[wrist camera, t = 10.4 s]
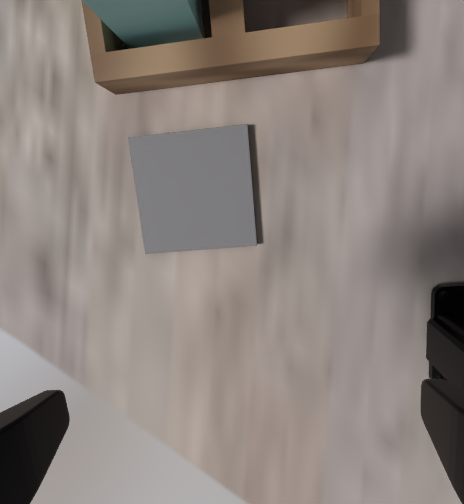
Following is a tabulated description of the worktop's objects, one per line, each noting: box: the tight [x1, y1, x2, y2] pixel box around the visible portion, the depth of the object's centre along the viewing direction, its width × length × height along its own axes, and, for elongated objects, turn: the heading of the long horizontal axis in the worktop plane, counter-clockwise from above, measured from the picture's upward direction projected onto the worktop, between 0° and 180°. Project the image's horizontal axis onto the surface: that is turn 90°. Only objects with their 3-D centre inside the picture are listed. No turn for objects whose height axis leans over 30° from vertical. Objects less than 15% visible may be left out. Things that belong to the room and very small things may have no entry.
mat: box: [128, 124, 257, 254], centre depth 20 cm, size 7×7×1 cm
